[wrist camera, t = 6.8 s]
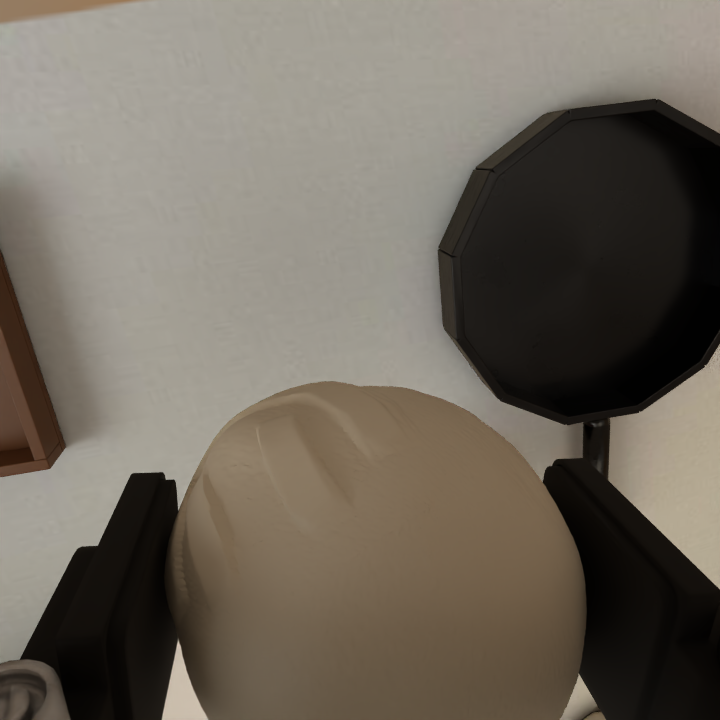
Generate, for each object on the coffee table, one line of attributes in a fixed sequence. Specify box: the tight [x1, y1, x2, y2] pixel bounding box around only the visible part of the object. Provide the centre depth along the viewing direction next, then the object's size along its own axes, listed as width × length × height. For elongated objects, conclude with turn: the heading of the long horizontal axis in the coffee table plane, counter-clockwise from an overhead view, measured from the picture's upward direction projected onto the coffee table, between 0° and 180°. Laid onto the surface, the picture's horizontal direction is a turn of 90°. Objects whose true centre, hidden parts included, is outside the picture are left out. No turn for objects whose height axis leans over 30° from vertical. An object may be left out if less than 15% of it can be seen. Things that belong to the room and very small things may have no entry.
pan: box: [438, 99, 720, 480], centre depth 32 cm, size 25×16×2 cm, turn 7°
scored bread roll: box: [164, 381, 587, 720], centre depth 10 cm, size 7×7×7 cm
